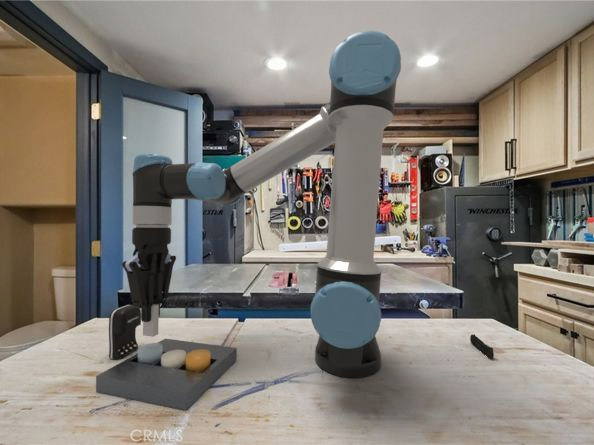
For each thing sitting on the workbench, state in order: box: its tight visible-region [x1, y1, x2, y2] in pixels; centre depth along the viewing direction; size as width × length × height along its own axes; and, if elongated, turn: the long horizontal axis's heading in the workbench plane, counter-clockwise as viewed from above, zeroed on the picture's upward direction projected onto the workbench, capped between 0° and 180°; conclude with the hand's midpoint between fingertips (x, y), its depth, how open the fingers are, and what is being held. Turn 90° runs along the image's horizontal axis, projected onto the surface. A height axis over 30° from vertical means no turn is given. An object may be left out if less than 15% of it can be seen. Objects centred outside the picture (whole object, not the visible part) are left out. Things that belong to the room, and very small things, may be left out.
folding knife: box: [469, 333, 495, 360], centre depth 69 cm, size 10×1×3 cm, turn 172°
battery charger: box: [108, 304, 142, 360], centre depth 68 cm, size 7×4×11 cm, turn 171°
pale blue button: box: [137, 342, 163, 365], centre depth 60 cm, size 5×5×3 cm
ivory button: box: [161, 350, 186, 369], centre depth 58 cm, size 5×5×3 cm
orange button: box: [186, 349, 210, 373], centre depth 57 cm, size 5×5×3 cm
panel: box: [95, 338, 238, 411], centre depth 58 cm, size 20×18×3 cm
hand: (150, 334), depth 60 cm, fingers closed
